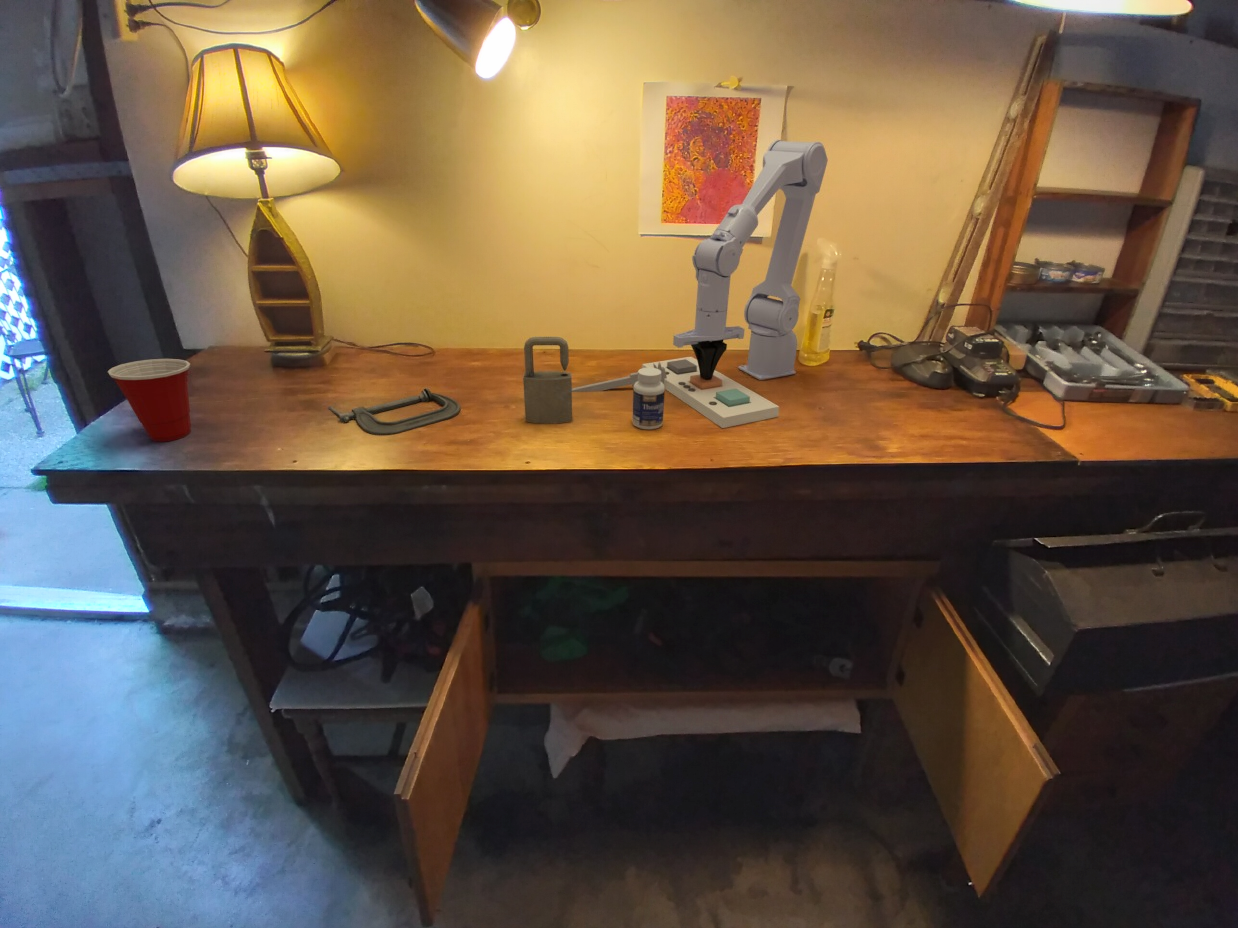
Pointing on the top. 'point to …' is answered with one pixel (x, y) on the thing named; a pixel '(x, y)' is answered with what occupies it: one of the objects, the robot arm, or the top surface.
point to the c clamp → (395, 427)
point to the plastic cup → (157, 395)
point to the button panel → (707, 398)
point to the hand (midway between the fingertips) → (705, 378)
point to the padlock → (547, 386)
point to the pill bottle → (648, 399)
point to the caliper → (617, 382)
